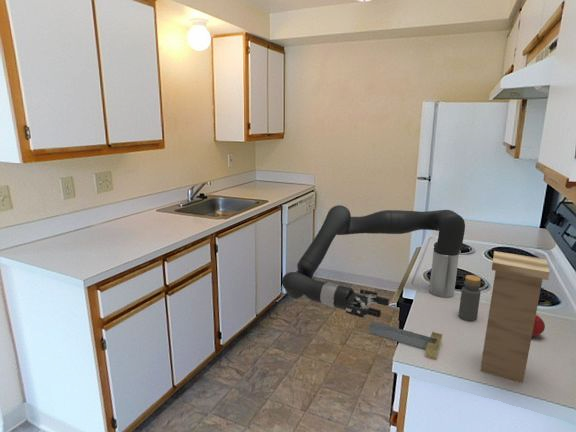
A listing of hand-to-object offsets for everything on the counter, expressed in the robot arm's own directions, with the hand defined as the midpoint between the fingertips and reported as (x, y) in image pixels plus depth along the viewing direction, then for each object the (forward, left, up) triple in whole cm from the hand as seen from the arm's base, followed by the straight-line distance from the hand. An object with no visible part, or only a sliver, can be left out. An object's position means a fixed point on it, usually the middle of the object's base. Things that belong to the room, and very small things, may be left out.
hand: (384, 308), depth 117 cm
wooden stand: (-1, +33, -10) cm, 35 cm away
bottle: (-27, +22, -10) cm, 36 cm away
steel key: (-1, +6, -10) cm, 12 cm away
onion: (-25, +41, -10) cm, 49 cm away
